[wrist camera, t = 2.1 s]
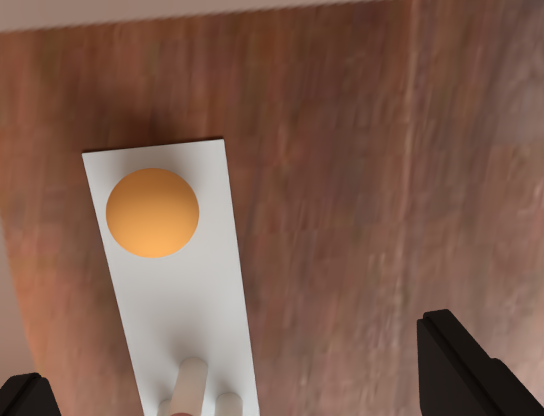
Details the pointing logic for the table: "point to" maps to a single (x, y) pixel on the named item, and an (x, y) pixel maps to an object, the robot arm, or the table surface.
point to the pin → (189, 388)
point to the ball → (152, 213)
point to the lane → (181, 280)
